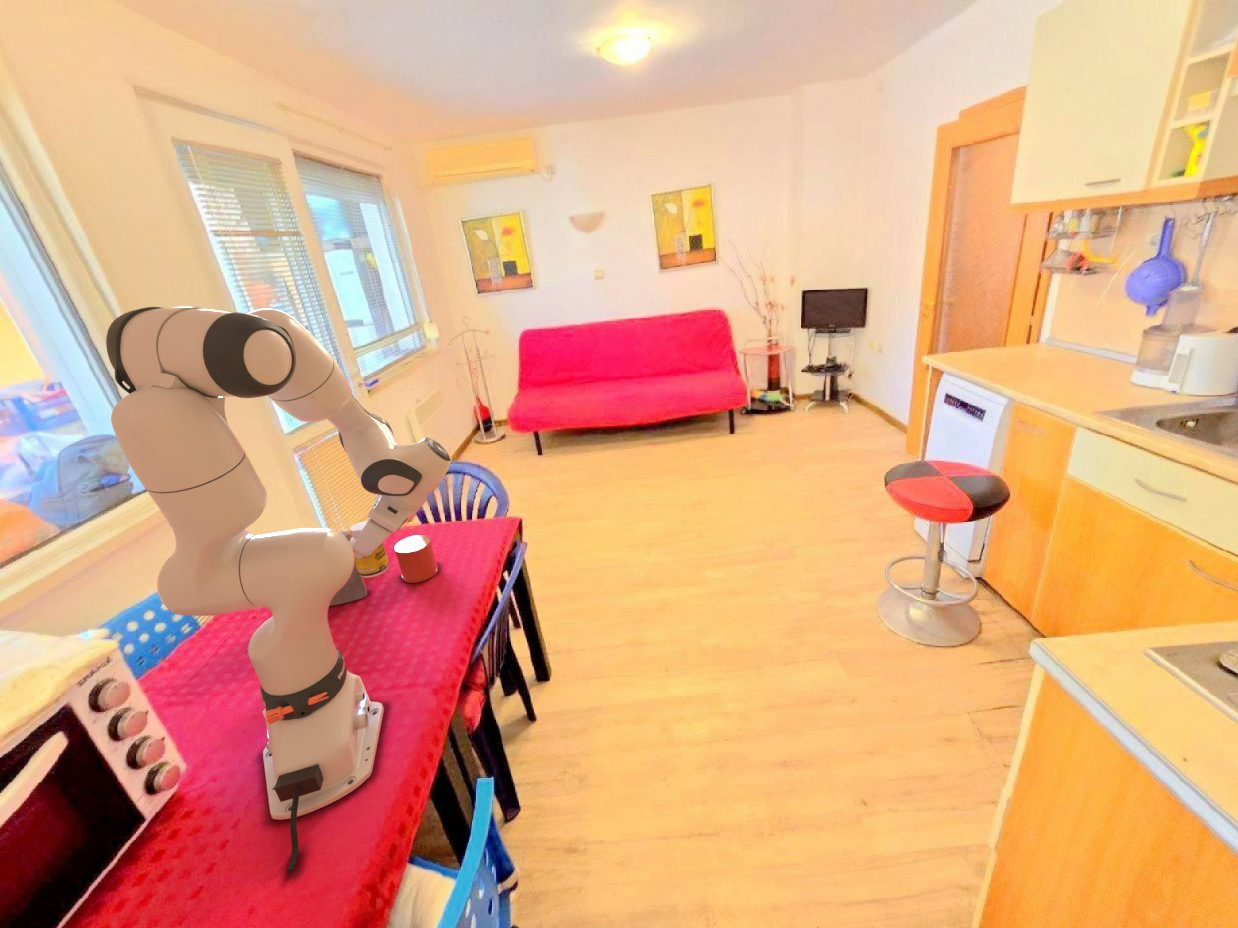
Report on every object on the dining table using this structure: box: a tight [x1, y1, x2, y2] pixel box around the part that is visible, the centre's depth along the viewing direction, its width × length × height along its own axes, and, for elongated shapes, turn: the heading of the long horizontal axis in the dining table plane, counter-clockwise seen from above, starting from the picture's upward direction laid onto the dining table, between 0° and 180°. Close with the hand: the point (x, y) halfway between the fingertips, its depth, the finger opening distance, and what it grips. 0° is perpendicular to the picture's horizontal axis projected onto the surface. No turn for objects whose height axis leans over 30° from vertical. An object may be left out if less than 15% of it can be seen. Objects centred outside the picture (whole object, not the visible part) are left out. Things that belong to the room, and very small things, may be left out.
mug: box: [394, 534, 439, 584], centre depth 134 cm, size 12×9×9 cm
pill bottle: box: [349, 520, 390, 579], centre depth 113 cm, size 6×6×12 cm
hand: (364, 546), depth 113 cm, fingers closed on pill bottle, 6 cm apart
